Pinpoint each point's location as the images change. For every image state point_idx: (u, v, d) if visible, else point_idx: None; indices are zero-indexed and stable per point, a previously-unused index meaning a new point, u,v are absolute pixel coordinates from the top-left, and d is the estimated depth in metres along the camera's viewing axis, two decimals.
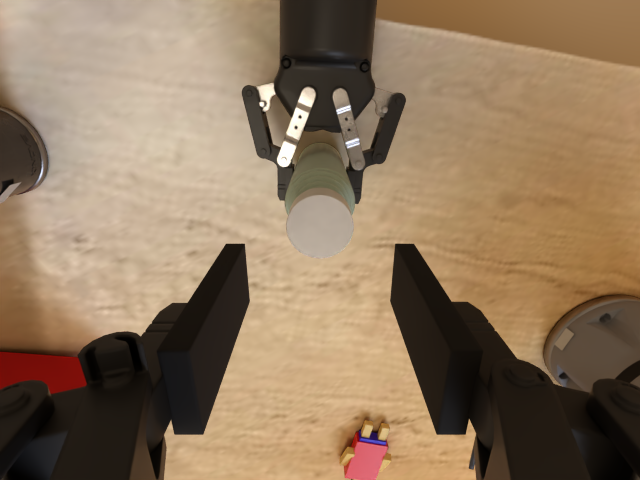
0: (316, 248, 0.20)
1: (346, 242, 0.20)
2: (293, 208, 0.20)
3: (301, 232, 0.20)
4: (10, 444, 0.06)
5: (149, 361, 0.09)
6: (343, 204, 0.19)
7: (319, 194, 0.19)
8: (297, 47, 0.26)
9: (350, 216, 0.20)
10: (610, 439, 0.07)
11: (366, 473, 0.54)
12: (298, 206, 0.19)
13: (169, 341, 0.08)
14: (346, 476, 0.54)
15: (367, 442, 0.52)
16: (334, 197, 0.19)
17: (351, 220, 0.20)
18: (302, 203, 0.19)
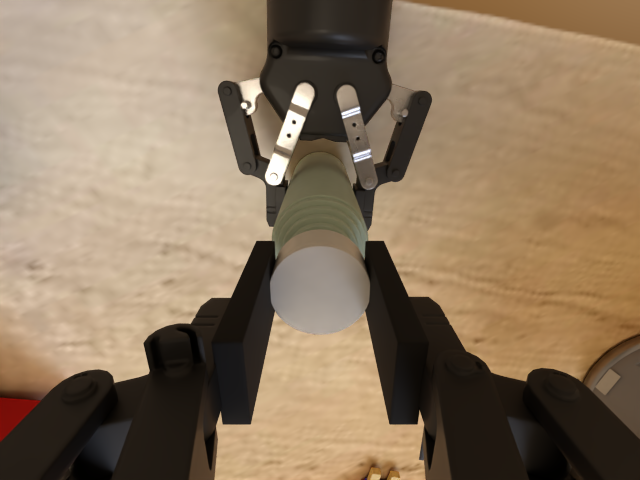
0: (314, 321, 0.14)
1: (359, 312, 0.14)
2: (279, 265, 0.13)
3: (292, 299, 0.13)
4: (79, 432, 0.06)
5: None
6: (355, 259, 0.13)
7: (319, 244, 0.13)
8: (289, 29, 0.19)
9: (366, 276, 0.13)
10: (540, 426, 0.07)
11: None
12: (287, 262, 0.13)
13: (221, 333, 0.09)
14: None
15: None
16: (342, 248, 0.13)
17: (367, 282, 0.13)
18: (293, 258, 0.13)
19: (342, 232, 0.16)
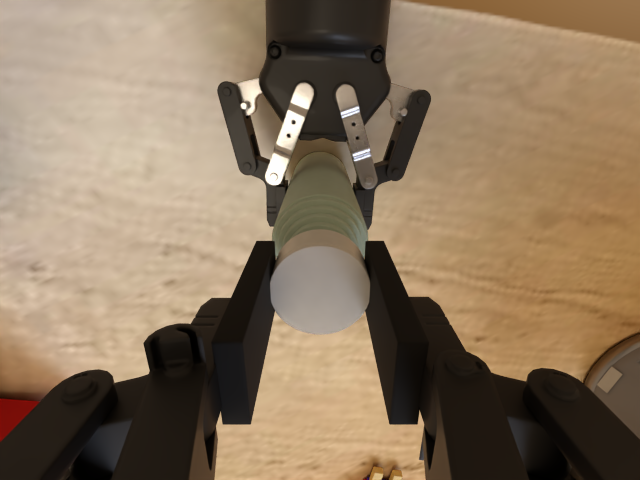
0: (354, 293, 0.13)
1: (339, 253, 0.13)
2: (296, 327, 0.14)
3: (331, 314, 0.14)
4: (79, 432, 0.06)
5: None
6: (278, 265, 0.13)
7: (271, 296, 0.13)
8: (288, 29, 0.19)
9: (295, 253, 0.13)
10: (540, 426, 0.07)
11: None
12: (292, 322, 0.14)
13: (221, 333, 0.09)
14: None
15: None
16: (271, 276, 0.13)
17: (302, 251, 0.13)
18: (286, 318, 0.14)
19: (342, 231, 0.16)
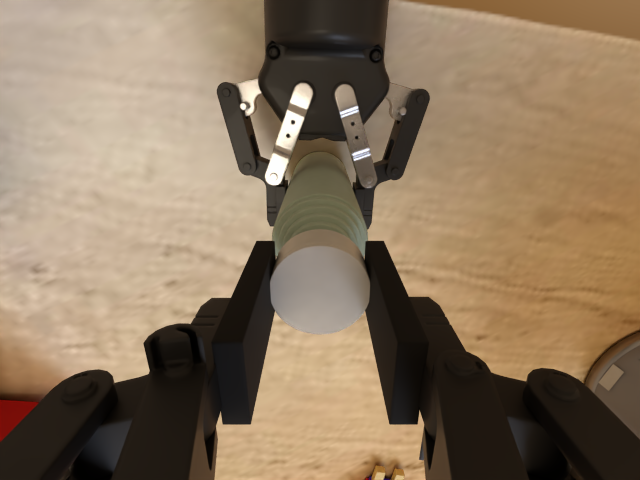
0: (316, 261, 0.13)
1: (274, 281, 0.13)
2: (364, 308, 0.13)
3: (345, 279, 0.13)
4: (79, 432, 0.06)
5: None
6: (296, 328, 0.14)
7: None
8: (287, 29, 0.19)
9: (281, 316, 0.14)
10: (540, 425, 0.07)
11: None
12: (358, 313, 0.14)
13: (221, 333, 0.09)
14: None
15: None
16: None
17: (278, 311, 0.14)
18: (353, 318, 0.14)
19: (341, 230, 0.16)
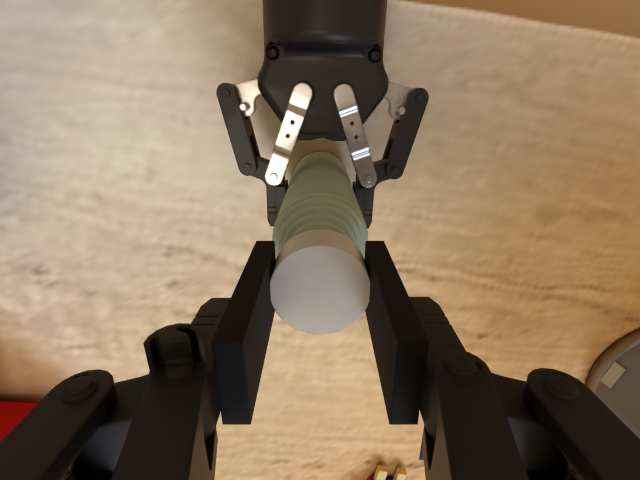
0: (286, 298, 0.13)
1: (313, 331, 0.14)
2: (334, 248, 0.13)
3: (302, 272, 0.13)
4: (79, 432, 0.06)
5: None
6: (365, 308, 0.14)
7: (367, 273, 0.13)
8: (285, 30, 0.19)
9: (352, 322, 0.14)
10: (540, 425, 0.07)
11: None
12: (340, 254, 0.13)
13: (221, 333, 0.09)
14: None
15: None
16: (369, 292, 0.13)
17: (346, 325, 0.14)
18: (347, 258, 0.13)
19: (341, 229, 0.16)
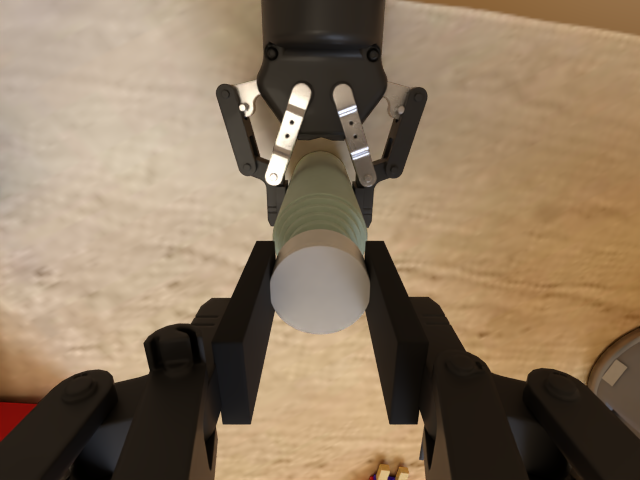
0: (331, 319, 0.14)
1: (366, 293, 0.13)
2: (270, 285, 0.13)
3: (300, 309, 0.13)
4: (79, 432, 0.06)
5: None
6: (333, 247, 0.13)
7: (294, 250, 0.13)
8: (284, 31, 0.19)
9: (352, 258, 0.13)
10: (540, 426, 0.07)
11: None
12: (275, 280, 0.13)
13: (221, 333, 0.09)
14: None
15: None
16: (316, 244, 0.13)
17: (357, 262, 0.13)
18: (278, 273, 0.13)
19: (341, 229, 0.16)
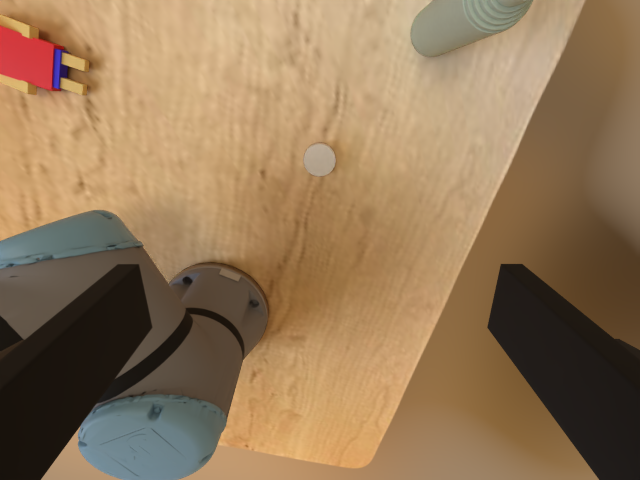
0: (323, 170, 0.42)
1: (334, 160, 0.42)
2: (304, 158, 0.42)
3: (313, 166, 0.42)
4: None
5: None
6: (323, 144, 0.41)
7: (311, 146, 0.41)
8: None
9: (329, 148, 0.41)
10: None
11: None
12: (305, 155, 0.42)
13: None
14: None
15: (54, 60, 0.38)
16: (318, 144, 0.41)
17: (331, 150, 0.41)
18: (306, 153, 0.42)
19: (525, 4, 0.23)
